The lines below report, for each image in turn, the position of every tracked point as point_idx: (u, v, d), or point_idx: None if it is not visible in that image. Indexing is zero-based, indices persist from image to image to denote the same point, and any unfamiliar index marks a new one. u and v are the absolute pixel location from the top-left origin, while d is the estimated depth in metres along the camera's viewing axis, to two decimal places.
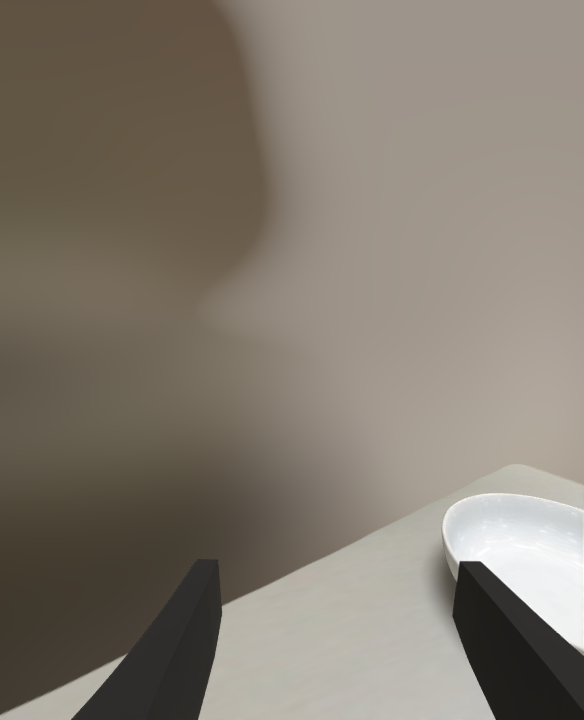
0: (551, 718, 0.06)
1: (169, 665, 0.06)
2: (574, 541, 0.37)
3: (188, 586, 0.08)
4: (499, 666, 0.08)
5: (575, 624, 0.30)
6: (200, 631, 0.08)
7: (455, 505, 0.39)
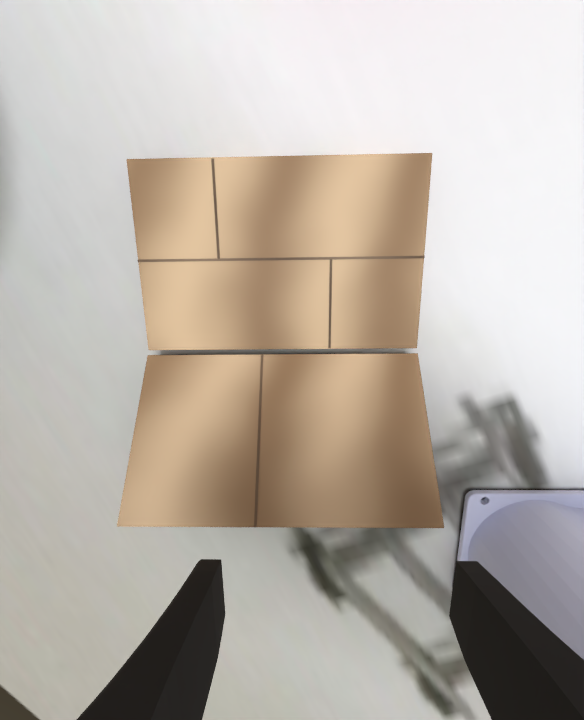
0: (546, 718, 0.06)
1: (174, 665, 0.06)
2: None
3: (192, 586, 0.08)
4: (495, 665, 0.08)
5: None
6: (204, 631, 0.08)
7: None
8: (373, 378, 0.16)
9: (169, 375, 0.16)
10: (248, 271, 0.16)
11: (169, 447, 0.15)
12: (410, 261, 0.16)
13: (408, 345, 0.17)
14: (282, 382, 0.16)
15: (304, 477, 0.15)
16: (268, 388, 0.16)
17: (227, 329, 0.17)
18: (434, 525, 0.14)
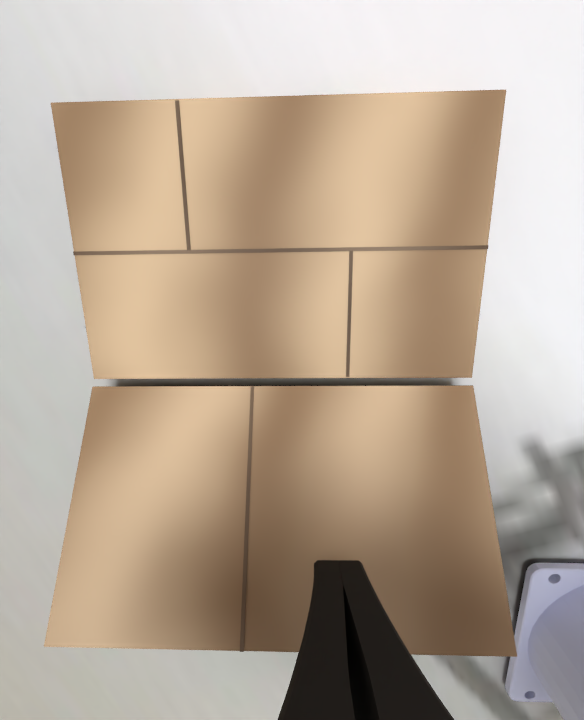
0: (368, 715, 0.06)
1: (347, 667, 0.06)
2: None
3: (324, 587, 0.08)
4: (351, 663, 0.08)
5: None
6: None
7: None
8: (410, 423, 0.11)
9: (122, 416, 0.12)
10: (232, 268, 0.11)
11: (120, 525, 0.11)
12: (467, 253, 0.11)
13: (460, 373, 0.12)
14: (281, 428, 0.11)
15: (312, 574, 0.10)
16: (261, 437, 0.11)
17: (203, 350, 0.12)
18: (503, 652, 0.09)
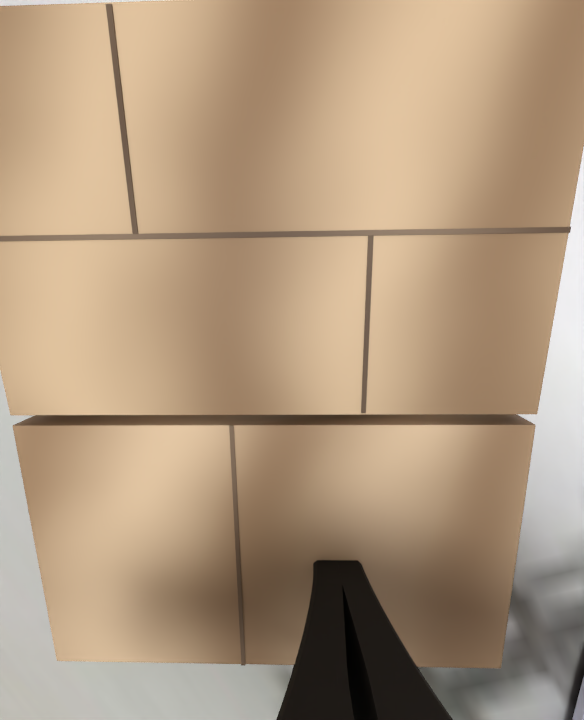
0: (367, 715, 0.06)
1: (347, 667, 0.06)
2: None
3: (324, 587, 0.08)
4: (350, 664, 0.08)
5: None
6: None
7: None
8: (440, 471, 0.09)
9: (65, 463, 0.09)
10: (198, 261, 0.08)
11: (99, 573, 0.10)
12: (539, 239, 0.07)
13: (521, 409, 0.08)
14: (272, 477, 0.09)
15: None
16: (248, 487, 0.09)
17: (161, 377, 0.08)
18: (489, 665, 0.10)
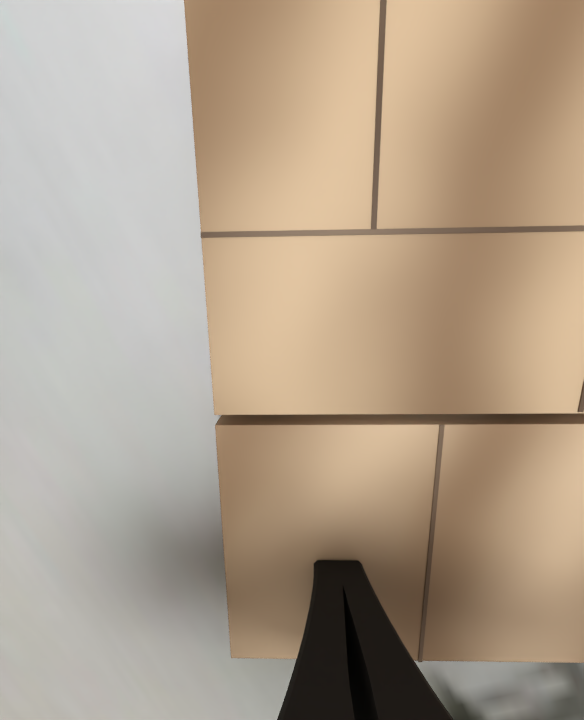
0: (368, 715, 0.06)
1: (347, 667, 0.06)
2: None
3: (324, 587, 0.08)
4: (350, 663, 0.08)
5: None
6: None
7: None
8: None
9: (265, 463, 0.09)
10: (434, 257, 0.08)
11: (286, 572, 0.10)
12: None
13: None
14: (476, 476, 0.09)
15: (495, 609, 0.10)
16: (450, 487, 0.09)
17: (376, 375, 0.08)
18: None
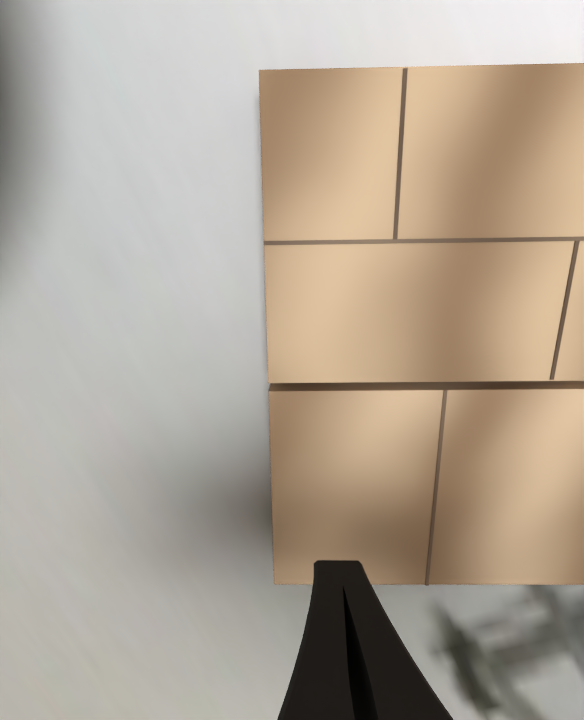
0: (367, 715, 0.06)
1: (347, 667, 0.06)
2: None
3: (324, 587, 0.08)
4: (350, 663, 0.08)
5: None
6: None
7: None
8: None
9: (306, 421, 0.11)
10: (440, 260, 0.10)
11: (320, 511, 0.12)
12: None
13: None
14: (472, 431, 0.11)
15: (487, 540, 0.12)
16: (451, 440, 0.11)
17: (395, 351, 0.11)
18: None
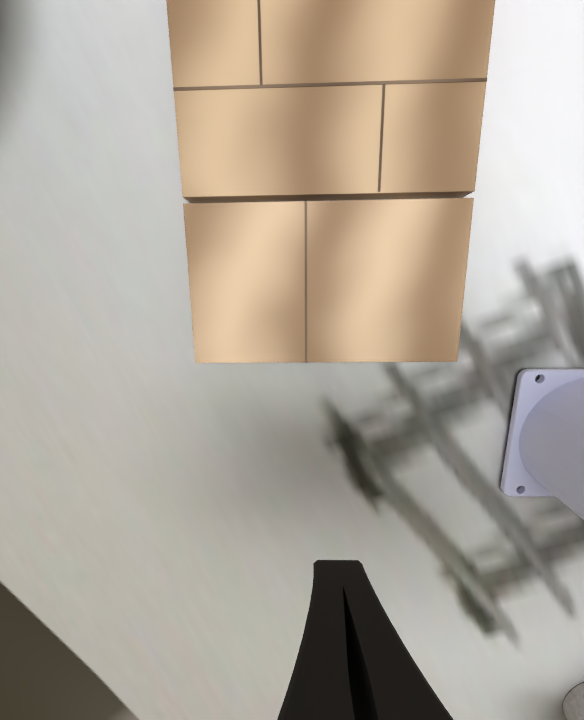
0: (367, 715, 0.06)
1: (347, 667, 0.06)
2: None
3: (324, 587, 0.08)
4: (350, 663, 0.08)
5: None
6: None
7: None
8: (421, 228, 0.16)
9: (211, 227, 0.16)
10: (293, 100, 0.15)
11: (225, 300, 0.17)
12: (471, 85, 0.14)
13: (465, 187, 0.15)
14: (327, 234, 0.16)
15: (346, 324, 0.17)
16: (313, 241, 0.16)
17: (268, 171, 0.15)
18: (450, 359, 0.17)
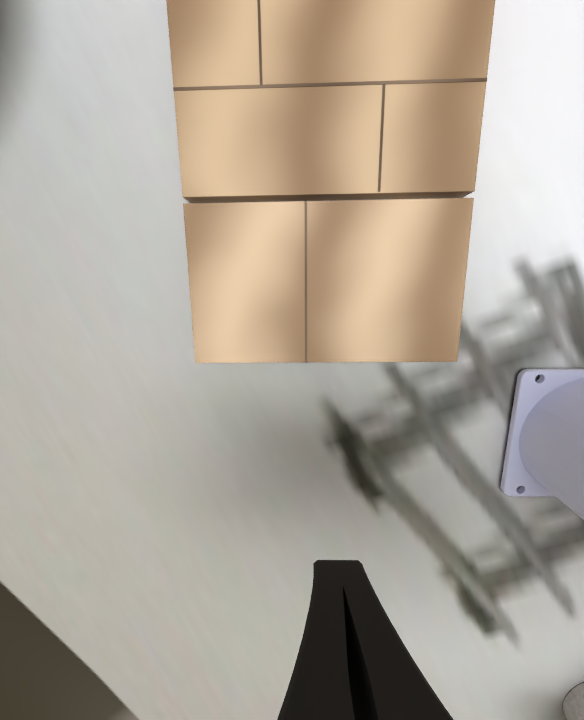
0: (367, 715, 0.06)
1: (347, 667, 0.06)
2: None
3: (324, 587, 0.08)
4: (350, 663, 0.08)
5: None
6: None
7: None
8: (421, 228, 0.16)
9: (211, 227, 0.16)
10: (293, 100, 0.15)
11: (225, 300, 0.17)
12: (471, 85, 0.14)
13: (465, 187, 0.15)
14: (327, 234, 0.16)
15: (346, 324, 0.17)
16: (313, 241, 0.16)
17: (268, 171, 0.15)
18: (450, 359, 0.17)
